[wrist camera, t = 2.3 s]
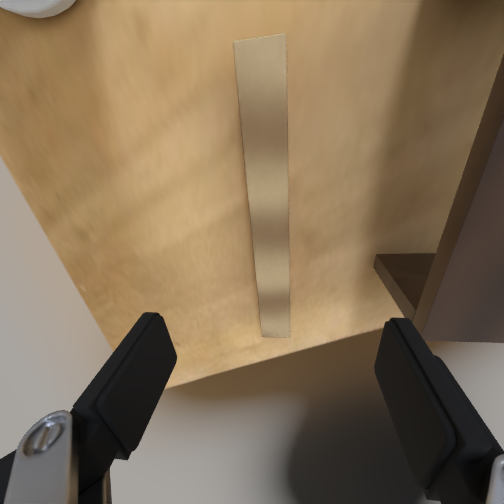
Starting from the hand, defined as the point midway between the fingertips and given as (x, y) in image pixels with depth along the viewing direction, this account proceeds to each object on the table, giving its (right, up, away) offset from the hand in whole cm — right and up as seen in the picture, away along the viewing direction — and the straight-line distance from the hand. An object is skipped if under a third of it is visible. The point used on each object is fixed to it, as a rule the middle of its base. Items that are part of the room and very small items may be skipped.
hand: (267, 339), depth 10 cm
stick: (+1, +7, +12) cm, 14 cm away
